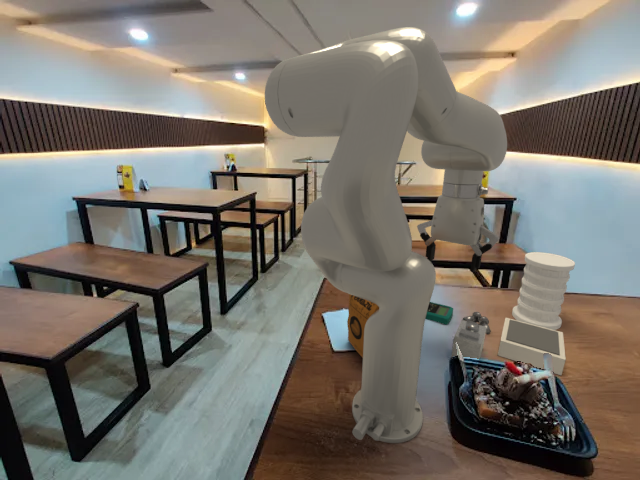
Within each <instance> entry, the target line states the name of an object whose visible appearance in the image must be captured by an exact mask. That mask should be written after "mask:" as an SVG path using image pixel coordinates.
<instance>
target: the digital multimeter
mask: <svg viewBox="0 0 640 480" xmlns="http://www.w3.org/2000/svg"><path fill="white" fill-rule="evenodd" d="M453 314H454V308H453V307H452V306H448V305H444V304H441V303H436V302H433V301H430V303H429V306H428V310H427V314H426V318H425V320H428V321H431V322H435V323H439V324H441V325H446V326H447V325H449V324H450V322H451V320H452V317H453Z"/></svg>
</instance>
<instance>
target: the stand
mask: <svg viewBox="0 0 640 480" xmlns="http://www.w3.org/2000/svg"><path fill="white" fill-rule="evenodd" d="M500 336H501V338H500V342H499V347H498V352H497V356H499V357H502V358H504V359H509V360H511V361H513V362H514V361H515V362H517V361H521V362H524V363H531V364H532V365H533V366H534V367H533V366H532V367H533V368H536V367H537V369H539V368H541V369H540V370H542V369H543V354H544V353H549V354H551V355H552V358H553V367H554V373H553V374H555V375H558V376H562V374H563V371H564V368H565V363H566V359H567V358H566V350H565V341H564V340H565V339H564V332H563V331H558V330H552V329H548V328H544V327H540V326H536V325H532V324H529V323H525V322H521V321H518V320H516V319H512V318H509V317H505V319H504V323H503V327H502V332H501V335H500Z"/></svg>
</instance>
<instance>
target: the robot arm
mask: <svg viewBox="0 0 640 480" xmlns="http://www.w3.org/2000/svg"><path fill="white" fill-rule="evenodd" d="M264 86H265V88H264V103H265V109H266V111H267V114H268V116H269V118H270V120H271V121H272V123H273V124H274V125H275V126H276V127H277V129H278V130H280V131H281V132H283V133H285V134H287V135H289V136H294V137H299V138H319V137H320V138H321V137H322V138H324V137H325V138H326V137H328V138H329V137H330V138H331V137H339V138H338V140H337V141H336V142H337V143H336V146H335V149H334V152H333V153H332V156H331V158H330V159H329V162H328V164H327V166H326V168H325V170H324V172H323V175H322V179H321V183H320V194H321V197H319V198H316V199H314V200H313V201H312V202H311V203H310V204H309V205H308V206H307V207H306V209H305V210H304V213H303V216H302V219H301V225H300V229H301V230H300V236H301V240H302V244H303V246H304V249H305V250H306V252H307V254H308V255H309V257H310V259H311V260H312V261H313V262H314V264H315V265H316V266H317V268H318V269H319V271H321V273H322V274H323V276H324V277H325V278H326V279H327V281H328V282H329V283H330V284H331V285H332V286H333V287H334V288H336V289H337V290H338V291H341V292H343V293H346V294H348V295H349V294H351V295H354V296H357V297H359V298H362V299H365V300H368V301H370V302H372V303H375V304H376V305H378V306H379V310H377V311H376V312H375V313H373V314H372V315H371V316H370V317H369V319H368V320H367V322H366V324H365V328H364V346H363V358H362V369H361V371H362V373H361V388H360V389H359V390H358V391H357V392H356V394H354V397H353V399H352V405H351V406H352V407H351V411H352V416H353V418H354V421H355V426H354V427H353V429H352V431H351V432H352V435H353V436H354V438H355V439H357V440H361V441H362V440H363V439H364V437H365V435H368V436H369V437H370V438H371V439H373V440H374V441H380V442H384V443H389V444H401V443H405V442H407V441H411V440H412V439H413V438H414V437H415V438H416V436H417V435H418V434H419V433H420V431H421V428H422V426H423V422H424V421H423V420H424V413H423V410H422V407H421V405H420V403H419V402H418V400H417V392H418V391H417V390H418V381H419V372H420V364H421V363H420V362H421V355H422V347H423V346H422V343H423V336H424V330H425V329H424V328H425V323H426V319H425V318H426V314H427V310H428V306H429V303H430V302H431V299H432V296H433V292H434V289H435V285H436V279H437V274H436V269H435V266H434V265H433V263H432V261H434V260H435V255H436V246H437V245H436V243H435V241H441V242H448V243H452V244H458V245H463V246H470V247H471V249H472V251H473V252H474V253H473V254H472V257H471V262H470V263H471V264H470V270H469V271H470V272H471V273H475V272H476V270H477V269H480V267H481V263H482V258H483V254H485V253H487V252H489V251H490V250H491V249H492V248H493V247H494V246H495V245H496V244H497V242H498V241H499V240H500V236H499V235H498V234H496V233H495V232H493V231H491V230H490V229H488V228H486V227H485V226H484V220H485V201H484V200H485V199H484V198H482V197H481V196H482V195H488V193H489V187H485V186H483V183H482V182H483V175H484V172H492V171H494V170H497V168H499V167H500V166H501V165H502V163H503V162H504V160H505V158H506V155H507V151H508V150H507V149H508V138H507V137H508V136H507V132H506V128H505V124H504V121H503V118H502V116H501V114H500V113H499V112H498V111H497V110H496V109H494V108H493V107H491V106H489V105H488V104H485V103H483V102H482V101H479V100H478V99H475V98H473V97H470V96H469V95H467V94H464V93H461V92H460V91H457V89H456V87H455V84H454V83H453V80H452V77H451V76H450V74H449V72H448V69H447V66H446V64H445V62H444V60H443V58H442V56H441V53H440V52H439V49H438V46H437V45H436V43H435V41H434V39H433V38H432V36H431V35H430V34H429V33H428V32H426V31H425V30H423V29H420V27H419V28H418V27H414V26H410V27H409V26H407V27H405V26H403V27H398V28H393V29H388V30H384V31H379V32H376V33H373V34H368V35H365V36H364V35H363V36H359V37H355V38H351V39H347V40H343V41H341V42H339V43H336V44H333V45H329V46H328V47H324V48H321V49H318V50H314V51H311V52H307V53H304V54H301V55H297V56H294V57H290V58H286V59H284V60H282V61H281V62H279V63H278V64H277V65H276V66H275V67H274V68H273V69H272V70H271V72H270V73H269V76H268V77H267V80H266V83H265V85H264ZM407 133H408V134H409V135H410V136H412V137H413V138H415V139H417V140H420V141H423V142H422V144H421V151H420V155H421V159H422V161H423V162H424V164H425V165H426V166H427V167H429V168H432V169H435V170H444V172H443V180H442V181H443V182H442V189H441V195H439V196H438V197H437V201H436V204H435V207H434V211H433V215H432V219H431V220H428V221H424V222H422V223H419V224H417V226H416V227H417V231H418V232H419V234H420V235H419V236H420V238H421V240H422V241H423V242H424V245H425V246H426V248H425V249H426V250H425V256H424V255H422V254H419V253H418V252H415V251H412V249H413V248H412V247H413V237H412V232H411V229H410V225H409V222H408V219H407V215H406V212H405V209H404V206H403V203H402V199H401V197H400V194H399V191H398V186H397V183H396V169H397V168H396V167H397V164H398V160H399V158H400V154H401V150H402V148H403V144H404V141H405V138H406V135H407ZM429 227H430V235H429V233H428V232H427V229H426V228H429ZM482 236H484V237H486V238H487V239H488V242H486V244H484V245H482V243H481V242H480V241H481V239H482Z"/></svg>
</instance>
